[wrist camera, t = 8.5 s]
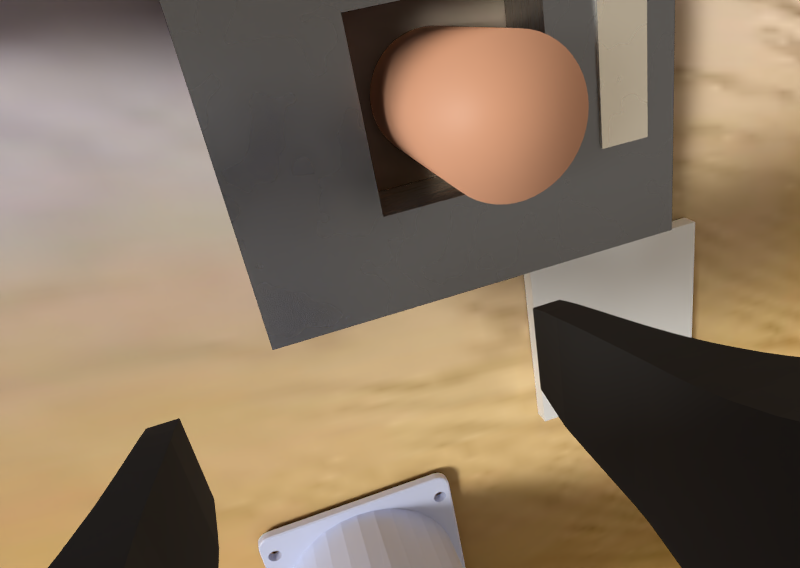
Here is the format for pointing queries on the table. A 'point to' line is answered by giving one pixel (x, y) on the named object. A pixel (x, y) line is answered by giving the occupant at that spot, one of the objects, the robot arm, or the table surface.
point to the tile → (622, 286)
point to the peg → (483, 107)
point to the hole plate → (420, 201)
